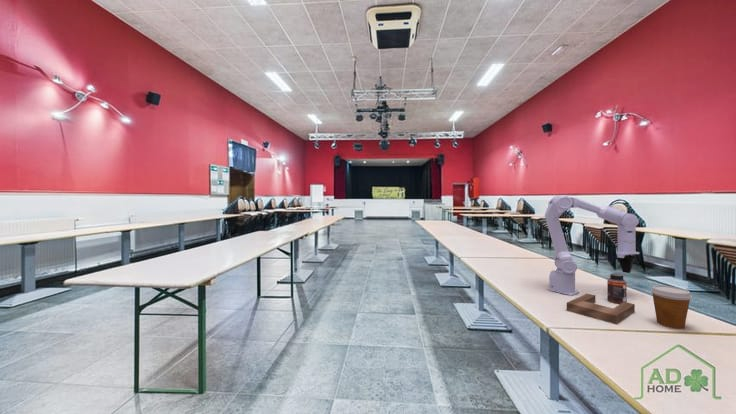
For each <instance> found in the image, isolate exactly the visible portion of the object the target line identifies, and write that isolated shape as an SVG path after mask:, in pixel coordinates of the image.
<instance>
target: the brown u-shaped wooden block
mask: <svg viewBox="0 0 736 414" xmlns="http://www.w3.org/2000/svg"><path fill="white" fill-rule="evenodd" d="M596 297H597V296H596V295H595V294H591V293H584V294H583V295H581V296H578V297H576V298H574V299H572V300H569V301H567V302H566V311H568V312H571V313H575V314H579V315H581V316H585V317H588V318H593V319H597V320H600V321H604V322H606V323H610V324H614V325H618V324H620V323H621V322H622V321H624V320H625V319H627V318H628V317H630V316H631V315H633V314H635V312H636V308H635V307H636V305H635V303H631V302H623V303H621V304H618V305H617V306H615V307H610V306H605V305H601V304H597V303H596V302H597V301H596Z"/></svg>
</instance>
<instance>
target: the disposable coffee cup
mask: <svg viewBox="0 0 736 414" xmlns="http://www.w3.org/2000/svg"><path fill="white" fill-rule="evenodd" d="M650 292H651V294H652V298H653V299H652V301H653V305H654V311H655V312H654V313H655V317H656V323H657V324H659V325H661V326H664V327H667V328H670V329H675V330H682V329H683V330H684V329H685V326H686V321H687V316H688V312H689V306H690V300H691V299H692V298H693V295H692V294H691V292H690V291H689V290H687V289H685V288H680V287H675V286H670V285H659V284H657V285H652V287H651V288H650Z"/></svg>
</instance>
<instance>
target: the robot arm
mask: <svg viewBox="0 0 736 414" xmlns="http://www.w3.org/2000/svg"><path fill="white" fill-rule="evenodd" d="M571 208H573V209H575V208H578V209H582V210H585V211H588V212H591V213H593V214H596V216H597V218H600V219H602V220H605V221H608V222H610V223H614V224H616V225H617V250H616V259H617V260H618V262H619V264H620V266H621V271H622V273H626V274H630V273H631V271H632V268H633V265H634V262H635V260H636V259H637V256H636V255H640V252H639V251H637V250H636V248H637V247H636V244H637V243H636V239H637V238H636V235H637V234H636V229H637V228H636V227H637V226H638V225H639V223H640V219H638V217H637V216H636V215H635V214H633V213H627V212H626V211H625V210H622V209H620V210H619V209H616V208H614V207H613V205H602V206H598V205H596V204H593V203H591V202H589V201H587V200H586V201H585V200H582V199H580V198H576V197H573V196H568V195H555V196H553V197H552V198H551V199H550V201H549V202H548V205H547V208H546V210H545V213H544V217H545V221H546V224H547V228H548V232H549V235H550V238H551V242H552V246H553V249H554V252H555V253H554V265H555V267H556V270H551V271H550V273H549V276H548V277H549V279H548V280H549V281H548V282H549V283H548V285H549V288H548V290H549V291H552V292H556V293H558V294H563V295H568V296H574V295H576V294H578V293H580V290H577V289H576V272H577V269H578V266H577V263H576V262H575V261H574V260H573V257H572V255H571V253H570V251H569V249H568V246H567V242H566V239H565V235H564V232H563V229H562V225H561V221H560V217H561V216H562V214H564V213H565V212H566V211H568V210H570V209H571Z"/></svg>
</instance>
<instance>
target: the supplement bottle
mask: <svg viewBox="0 0 736 414" xmlns="http://www.w3.org/2000/svg"><path fill="white" fill-rule="evenodd" d="M606 283H607V286H606V288H607V293H606V294H607V301H608V302H611V303H614V304H618V305H620V304H621V303H623V302H627V298H628V296H627V295H628V293H627V291H628V289H627V285H628V284H627V281H626V280H625V279H624V274H621V273H615V272H614V273H610V277H609V278H608V279H607V282H606ZM627 303H628V302H627Z"/></svg>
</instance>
